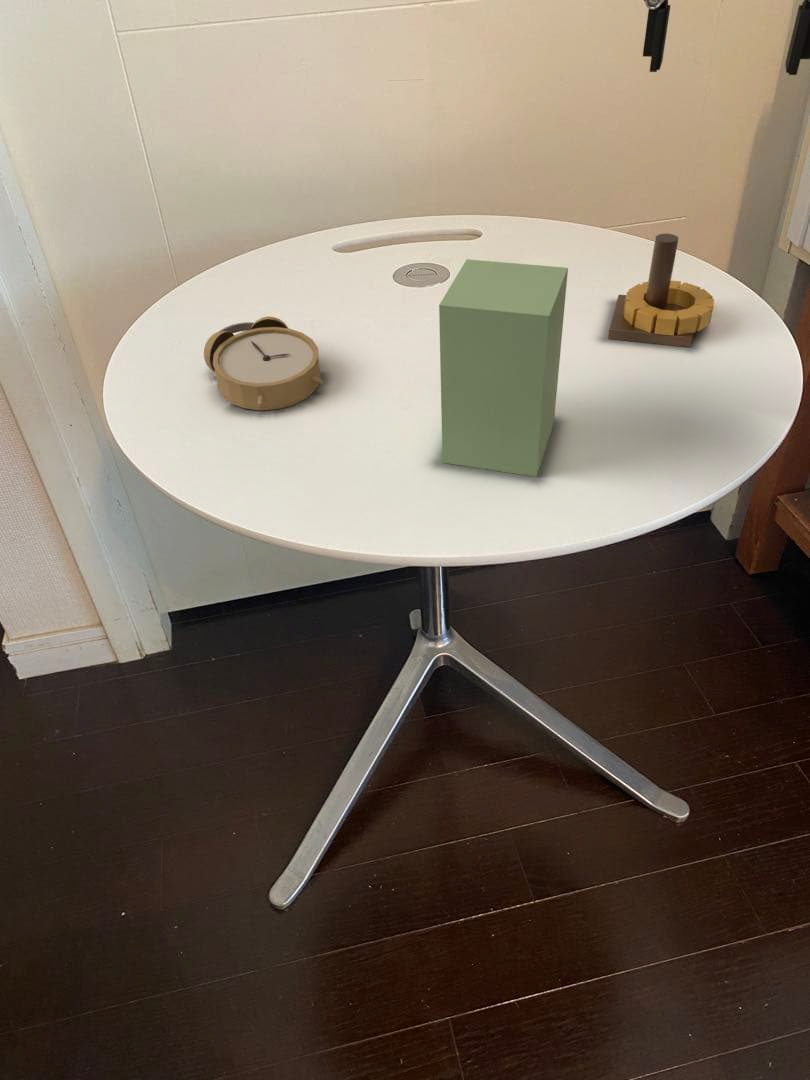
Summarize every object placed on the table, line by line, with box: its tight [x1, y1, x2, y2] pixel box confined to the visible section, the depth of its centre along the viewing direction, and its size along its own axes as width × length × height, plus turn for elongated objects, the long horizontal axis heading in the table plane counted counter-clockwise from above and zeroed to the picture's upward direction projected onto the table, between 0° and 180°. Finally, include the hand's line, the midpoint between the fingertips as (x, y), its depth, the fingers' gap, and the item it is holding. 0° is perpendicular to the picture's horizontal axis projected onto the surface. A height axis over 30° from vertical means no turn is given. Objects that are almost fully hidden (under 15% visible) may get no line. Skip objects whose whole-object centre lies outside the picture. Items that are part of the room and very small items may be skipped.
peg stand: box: [607, 233, 694, 348], centre depth 90 cm, size 9×9×10 cm
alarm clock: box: [203, 316, 324, 411], centre depth 88 cm, size 11×5×15 cm
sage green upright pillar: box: [438, 258, 569, 478], centre depth 73 cm, size 9×9×16 cm
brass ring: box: [623, 280, 715, 335], centre depth 92 cm, size 10×10×2 cm
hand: (721, 69), depth 61 cm, fingers open, 9 cm apart
